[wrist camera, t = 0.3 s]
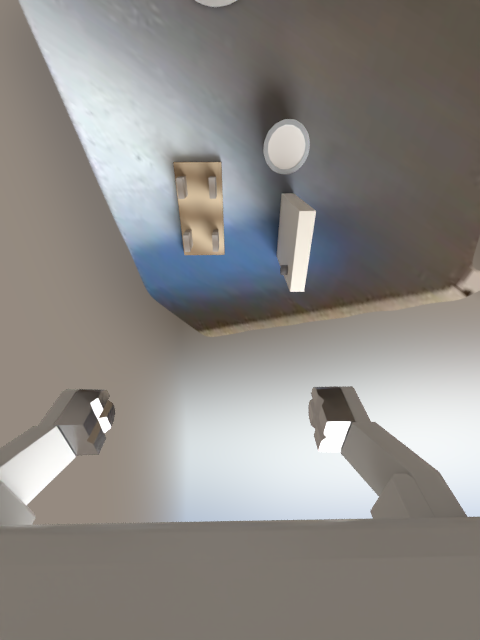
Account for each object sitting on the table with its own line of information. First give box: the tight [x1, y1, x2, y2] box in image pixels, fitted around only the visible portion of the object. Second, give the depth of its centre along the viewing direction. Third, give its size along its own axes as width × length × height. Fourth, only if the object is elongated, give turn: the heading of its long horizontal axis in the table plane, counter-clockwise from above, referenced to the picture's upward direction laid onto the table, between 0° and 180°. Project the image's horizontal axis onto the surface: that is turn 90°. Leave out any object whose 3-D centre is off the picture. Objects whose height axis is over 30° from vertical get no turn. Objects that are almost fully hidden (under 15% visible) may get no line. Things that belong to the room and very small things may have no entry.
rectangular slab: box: [277, 193, 316, 292], centre depth 45 cm, size 12×3×16 cm, turn 0°
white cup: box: [263, 119, 310, 174], centre depth 41 cm, size 7×7×7 cm
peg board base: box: [173, 162, 225, 255], centre depth 47 cm, size 16×8×6 cm, turn 0°
